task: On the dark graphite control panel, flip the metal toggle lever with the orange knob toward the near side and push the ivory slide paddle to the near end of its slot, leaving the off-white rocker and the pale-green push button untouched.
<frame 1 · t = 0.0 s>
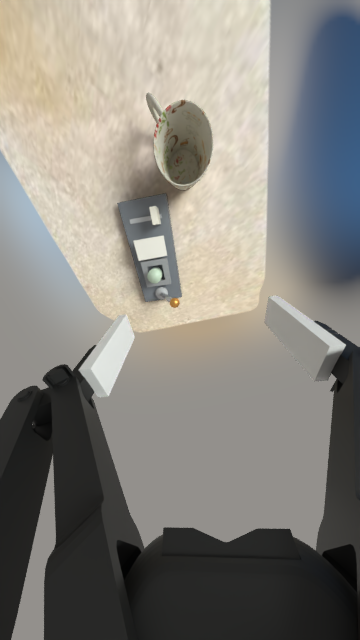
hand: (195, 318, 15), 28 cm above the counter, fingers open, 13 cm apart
slider: (155, 216, 30), point 4 cm above the counter, slide at 0.0 cm
panel: (155, 255, 38), on the counter
rocker: (150, 248, 33), point 4 cm above the counter, hinge at -10.0°
mug: (176, 159, 29), on the counter
lever: (168, 298, 36), point 7 cm above the counter, hinge at -30.0°
button: (155, 275, 35), point 5 cm above the counter, slide at 0.0 cm
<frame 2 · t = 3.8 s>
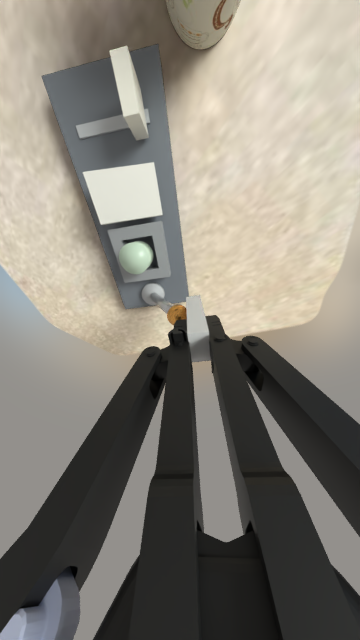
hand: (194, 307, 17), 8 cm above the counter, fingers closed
slider: (132, 102, 12), point 4 cm above the counter, slide at 0.0 cm
panel: (140, 221, 20), on the counter
rocker: (126, 196, 15), point 4 cm above the counter, hinge at -10.0°
lever: (165, 306, 18), point 7 cm above the counter, hinge at -30.0°, touching gripper
button: (137, 257, 17), point 5 cm above the counter, slide at 0.0 cm
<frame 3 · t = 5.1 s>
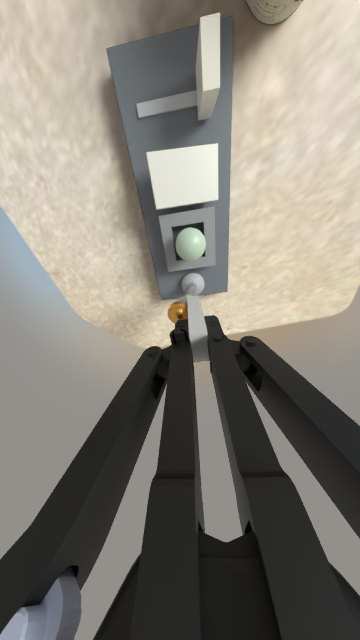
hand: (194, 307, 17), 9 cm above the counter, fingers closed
slider: (206, 77, 12), point 4 cm above the counter, slide at 0.0 cm
panel: (184, 208, 19), on the counter
rocker: (184, 179, 15), point 4 cm above the counter, hinge at -10.0°
lever: (185, 299, 18), point 7 cm above the counter, hinge at 15.0°, touching gripper
button: (189, 243, 17), point 5 cm above the counter, slide at 0.0 cm
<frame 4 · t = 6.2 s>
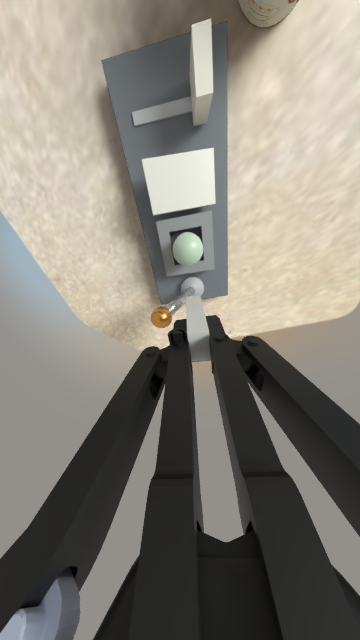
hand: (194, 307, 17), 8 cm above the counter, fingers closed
slider: (200, 82, 12), point 4 cm above the counter, slide at 0.0 cm
panel: (182, 213, 19), on the counter
rocker: (180, 184, 15), point 4 cm above the counter, hinge at -10.0°
lever: (176, 304, 18), point 7 cm above the counter, hinge at 27.6°
button: (187, 248, 16), point 5 cm above the counter, slide at 0.0 cm
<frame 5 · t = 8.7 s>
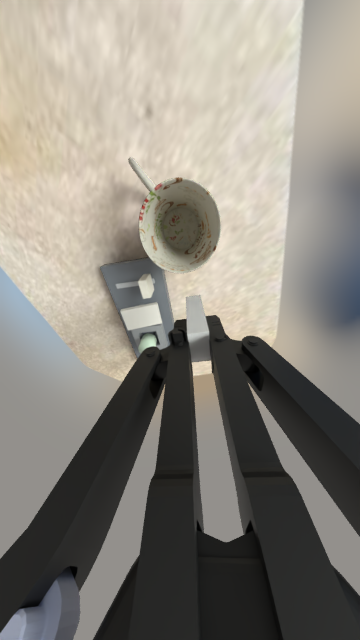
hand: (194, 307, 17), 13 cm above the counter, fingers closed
slider: (146, 285, 25), point 4 cm above the counter, slide at 0.0 cm
panel: (148, 314, 32), on the counter
rocker: (142, 316, 28), point 4 cm above the counter, hinge at -10.0°
mug: (171, 217, 23), on the counter
button: (148, 344, 30), point 5 cm above the counter, slide at 0.0 cm
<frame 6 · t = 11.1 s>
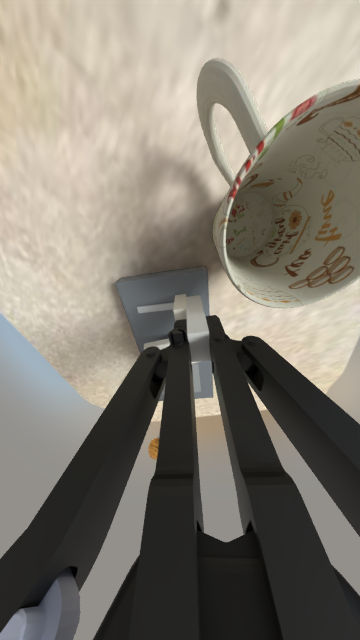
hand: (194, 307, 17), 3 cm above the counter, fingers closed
slider: (182, 313, 16), point 4 cm above the counter, slide at 0.6 cm, touching gripper
panel: (176, 344, 24), on the counter
rocker: (173, 353, 19), point 4 cm above the counter, hinge at -10.0°
mug: (230, 208, 15), on the counter
lever: (169, 425, 22), point 7 cm above the counter, hinge at 27.7°
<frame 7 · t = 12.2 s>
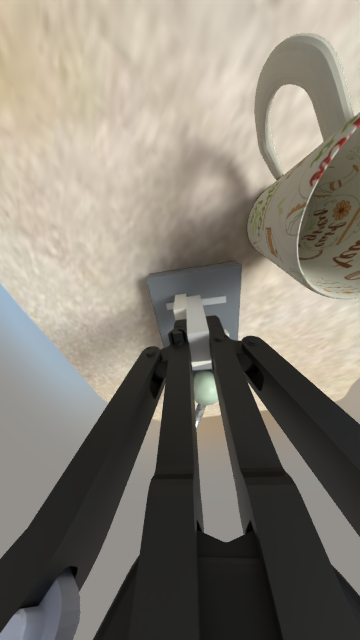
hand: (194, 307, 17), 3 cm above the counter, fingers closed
slider: (182, 313, 16), point 4 cm above the counter, slide at 4.1 cm, touching gripper
panel: (199, 341, 23), on the counter
rocker: (202, 350, 19), point 4 cm above the counter, hinge at -10.0°
mug: (267, 201, 15), on the counter
lever: (194, 423, 22), point 7 cm above the counter, hinge at 27.7°
button: (205, 387, 20), point 5 cm above the counter, slide at 0.0 cm
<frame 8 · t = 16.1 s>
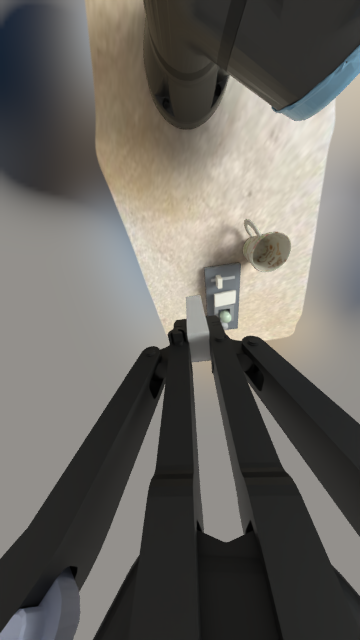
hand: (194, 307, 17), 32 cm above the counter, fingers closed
slider: (218, 281, 44), point 4 cm above the counter, slide at 4.1 cm
panel: (221, 299, 51), on the counter
rocker: (224, 298, 46), point 4 cm above the counter, hinge at -10.0°
mug: (249, 241, 42), on the counter
lever: (219, 334, 50), point 7 cm above the counter, hinge at 27.7°
button: (225, 316, 48), point 5 cm above the counter, slide at 0.0 cm
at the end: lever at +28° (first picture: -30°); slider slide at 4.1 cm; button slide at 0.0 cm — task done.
